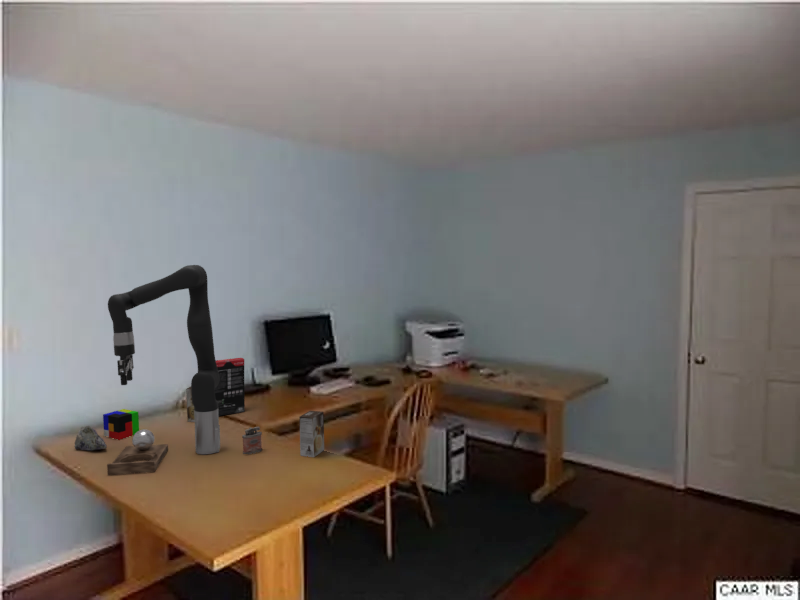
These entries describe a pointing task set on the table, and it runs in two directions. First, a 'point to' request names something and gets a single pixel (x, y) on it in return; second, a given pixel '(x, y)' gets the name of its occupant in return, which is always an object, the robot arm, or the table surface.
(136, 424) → the puzzle toy
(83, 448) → the mineral rock
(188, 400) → the coffee box
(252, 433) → the lighter
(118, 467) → the wooden ball holder
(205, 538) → the table surface
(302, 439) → the coffee box
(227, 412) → the graphics card box
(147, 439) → the steel ball
